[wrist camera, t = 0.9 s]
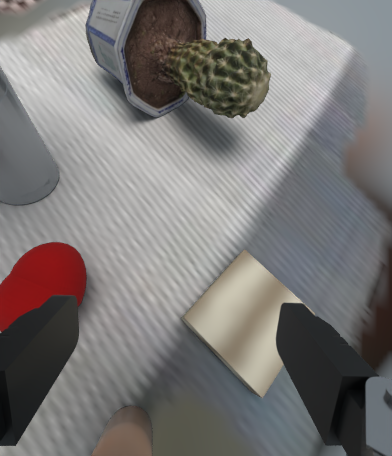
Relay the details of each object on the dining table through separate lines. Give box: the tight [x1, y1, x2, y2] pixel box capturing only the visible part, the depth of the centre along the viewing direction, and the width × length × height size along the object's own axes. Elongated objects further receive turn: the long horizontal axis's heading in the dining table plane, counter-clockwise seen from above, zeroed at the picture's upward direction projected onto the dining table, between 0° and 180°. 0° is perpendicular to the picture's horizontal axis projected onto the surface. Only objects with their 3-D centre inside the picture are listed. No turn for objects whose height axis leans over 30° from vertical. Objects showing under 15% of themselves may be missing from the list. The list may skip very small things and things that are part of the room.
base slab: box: [181, 250, 315, 398], centre depth 31 cm, size 12×12×3 cm
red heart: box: [0, 242, 86, 332], centre depth 25 cm, size 9×7×10 cm
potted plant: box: [86, 0, 271, 118], centre depth 37 cm, size 18×18×30 cm
